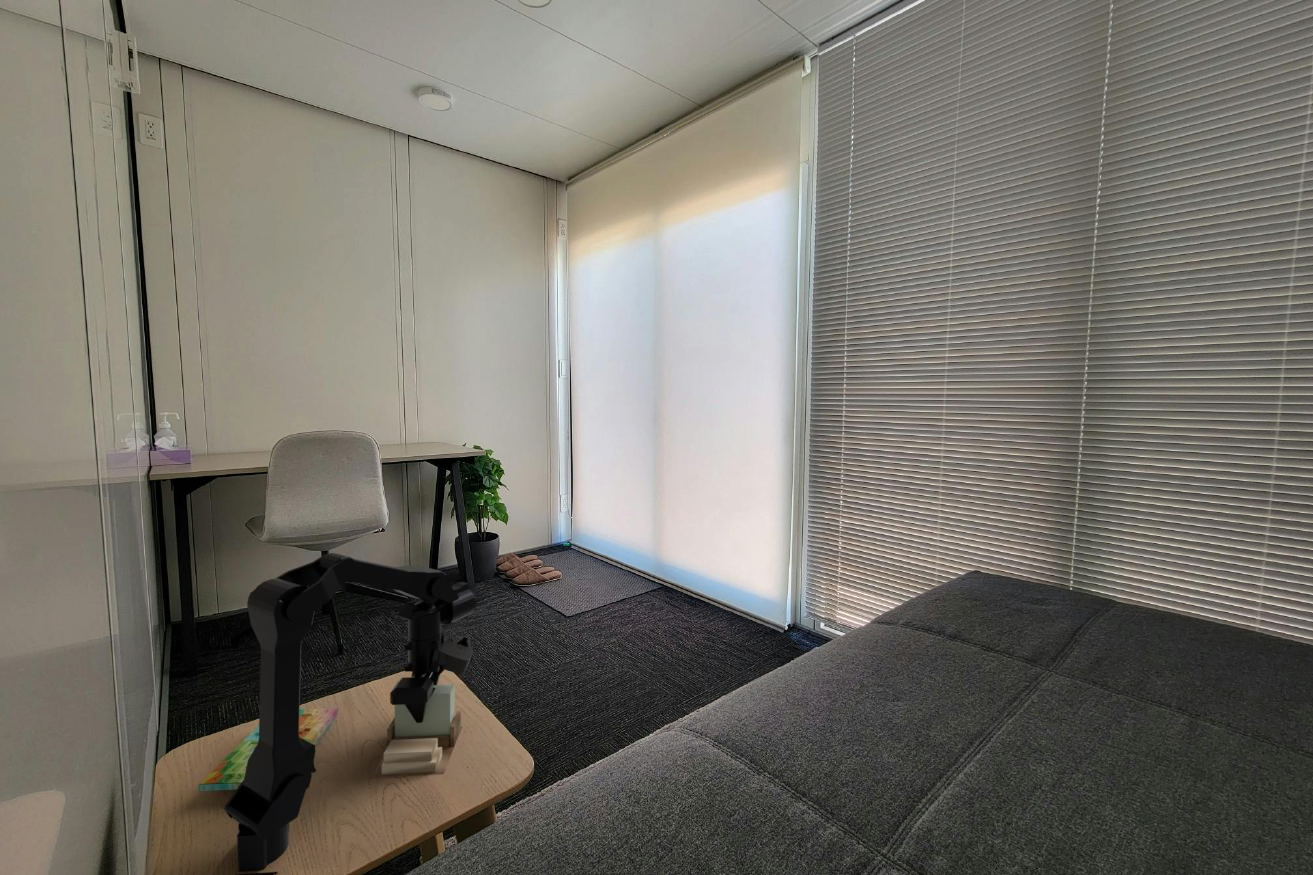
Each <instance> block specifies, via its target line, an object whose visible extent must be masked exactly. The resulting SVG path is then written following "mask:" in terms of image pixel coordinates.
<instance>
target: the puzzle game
mask: <svg viewBox="0 0 1313 875" xmlns="http://www.w3.org/2000/svg"><path fill="white" fill-rule="evenodd" d="M338 715H339V708H310V709H309V708H307V709H299V737H300V738H302V739H304V740H306V741H308V742H310V743H312V744H314V745H315V746H316V744H317V743H318V742H319V741H320V740H321V738H322V737H323V736H324V735H325V733H326V732H327V731H328V729H330V727H331V726H332V725H333V723H335V720H336V719H337V717H338ZM258 741H259V725H257V727H255V729H254V730H253V731H252V732H251V733H250V734H248V736H246V738H244V740H242V741H241V742H240V743H239V745H238V746H236V748H234V749H233V750H232V751H231V752H230V753H229V755H227V756H226V757H225V758H224V759H223V760H222V761H221V762H220V763H219V764H218V765H217V766H216V767H215V768H214V769H213V770H212V771H211V772H210V773H209V774H208V775H207V776H206V777H205V778H204V779H203V780H202V781H201V782H200V783H199V784H198V791H199V792H203V791H204V792H205V791H230V790H237V788H238V787H239V785H240V784H241V783H242V781H243V780H244V777H245V772H246V767H247V762H248V759H249V757H250V756H251V754H252V752H253V751H254V749H255V748H256V746H257V744H258Z"/></svg>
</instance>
